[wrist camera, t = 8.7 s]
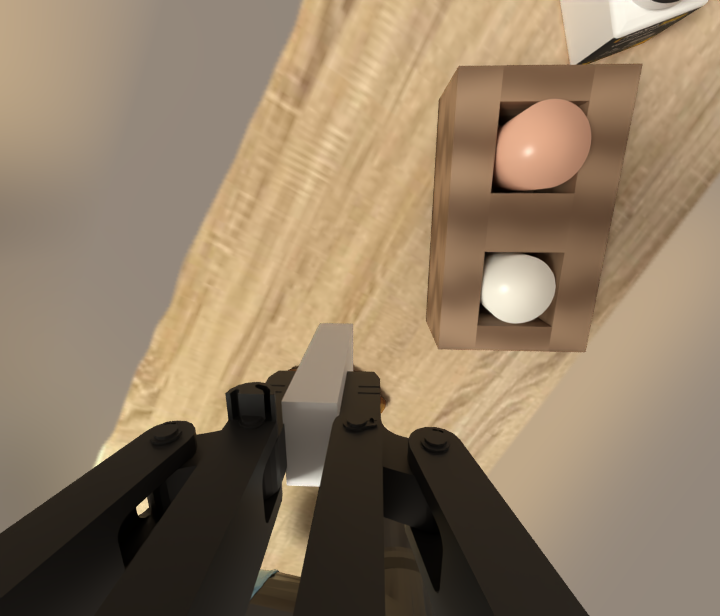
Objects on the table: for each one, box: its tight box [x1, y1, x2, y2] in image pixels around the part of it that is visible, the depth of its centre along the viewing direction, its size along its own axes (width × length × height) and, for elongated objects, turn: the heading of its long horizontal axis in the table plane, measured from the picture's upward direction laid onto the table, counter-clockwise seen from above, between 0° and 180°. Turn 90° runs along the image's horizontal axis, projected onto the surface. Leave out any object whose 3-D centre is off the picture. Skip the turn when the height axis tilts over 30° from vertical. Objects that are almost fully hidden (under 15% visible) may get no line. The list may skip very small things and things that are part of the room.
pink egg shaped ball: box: [491, 99, 591, 193], centre depth 31 cm, size 6×6×8 cm
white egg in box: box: [480, 252, 556, 323], centre depth 36 cm, size 6×6×8 cm
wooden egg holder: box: [426, 64, 642, 352], centre depth 35 cm, size 24×14×9 cm, turn 0°
